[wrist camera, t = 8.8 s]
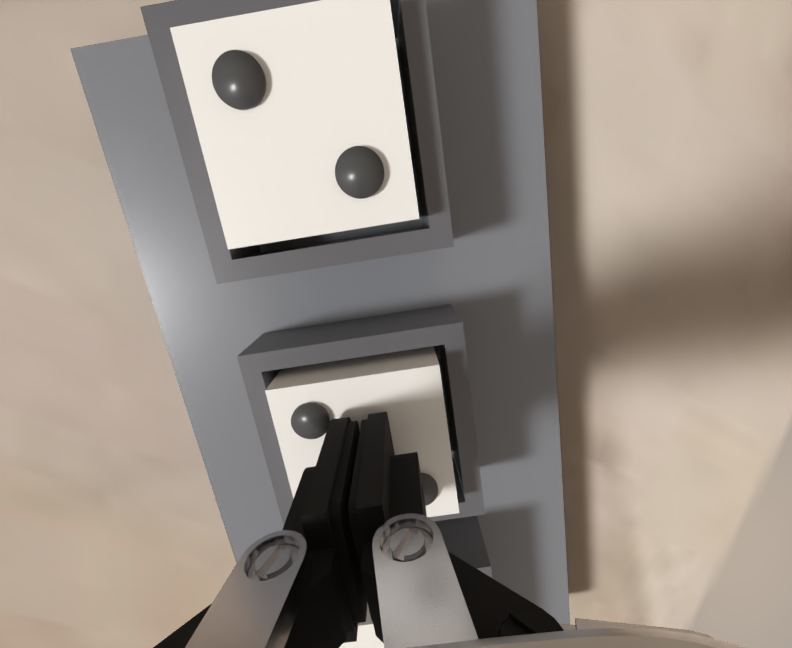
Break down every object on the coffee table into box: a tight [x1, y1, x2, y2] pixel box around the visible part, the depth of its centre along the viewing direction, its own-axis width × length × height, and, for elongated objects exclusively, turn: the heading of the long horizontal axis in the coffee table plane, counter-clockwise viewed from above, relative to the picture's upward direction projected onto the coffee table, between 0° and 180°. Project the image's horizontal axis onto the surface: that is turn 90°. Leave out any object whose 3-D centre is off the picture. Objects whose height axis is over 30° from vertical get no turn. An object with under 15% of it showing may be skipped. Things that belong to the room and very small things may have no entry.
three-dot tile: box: [265, 346, 459, 517], centre depth 13 cm, size 5×5×3 cm
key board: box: [71, 0, 570, 625], centre depth 15 cm, size 26×14×4 cm, turn 9°
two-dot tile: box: [170, 0, 419, 250], centre depth 11 cm, size 5×5×3 cm
